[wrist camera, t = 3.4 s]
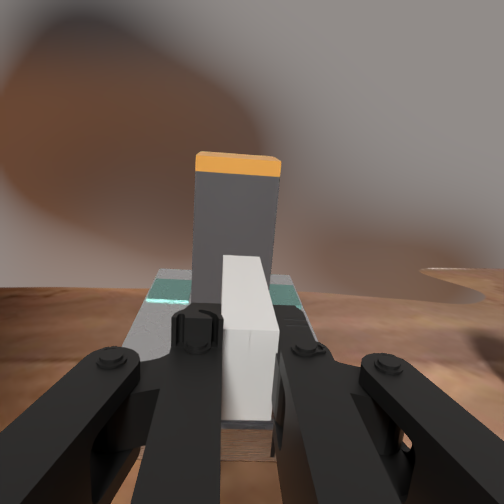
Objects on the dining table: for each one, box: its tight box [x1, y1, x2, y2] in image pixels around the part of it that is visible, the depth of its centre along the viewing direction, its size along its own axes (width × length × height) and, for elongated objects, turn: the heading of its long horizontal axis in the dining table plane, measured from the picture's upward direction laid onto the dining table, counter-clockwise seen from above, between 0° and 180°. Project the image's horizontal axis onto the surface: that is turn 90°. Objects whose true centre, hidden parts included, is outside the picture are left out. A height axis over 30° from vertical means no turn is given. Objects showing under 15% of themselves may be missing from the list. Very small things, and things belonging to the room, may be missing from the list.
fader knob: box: [191, 151, 281, 304], centre depth 25 cm, size 4×4×13 cm
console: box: [122, 269, 318, 461], centre depth 32 cm, size 24×14×3 cm, turn 3°
